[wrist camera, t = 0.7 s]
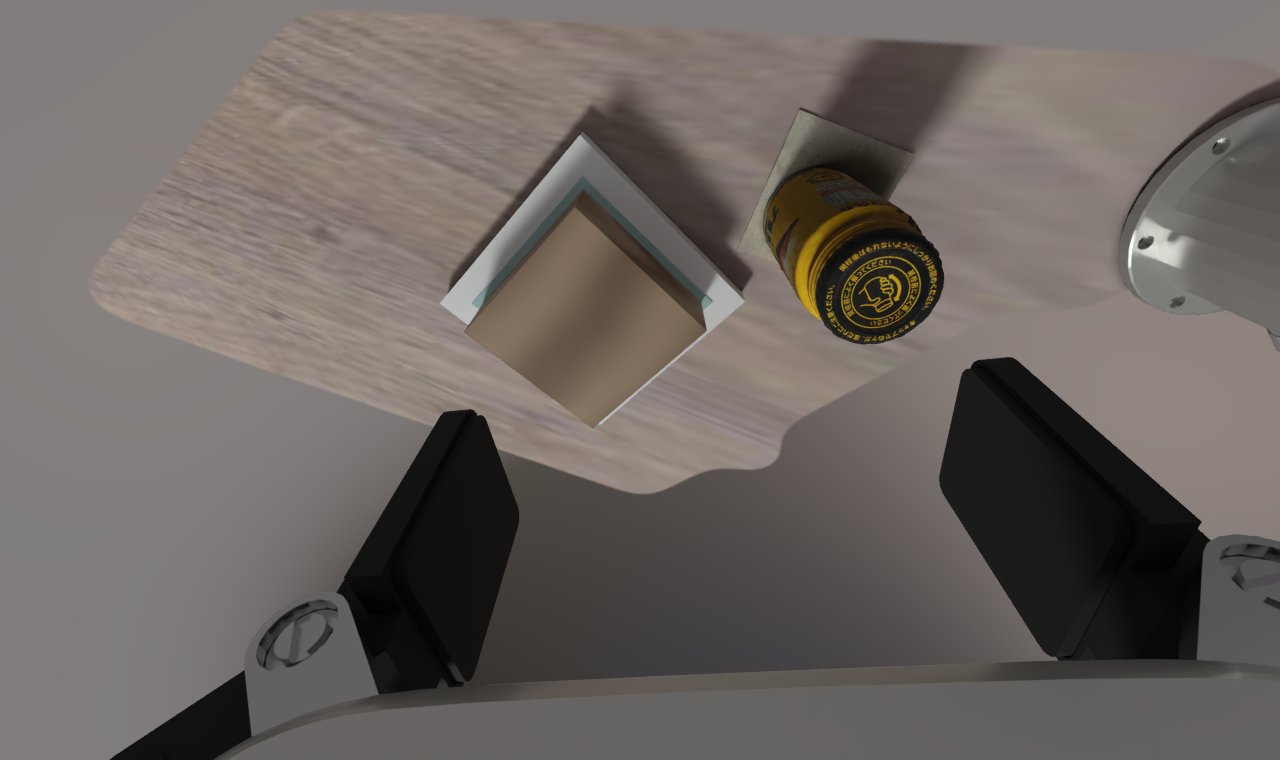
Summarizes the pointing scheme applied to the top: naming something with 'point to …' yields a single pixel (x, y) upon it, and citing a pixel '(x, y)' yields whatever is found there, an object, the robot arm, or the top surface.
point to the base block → (588, 314)
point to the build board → (626, 206)
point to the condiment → (845, 233)
